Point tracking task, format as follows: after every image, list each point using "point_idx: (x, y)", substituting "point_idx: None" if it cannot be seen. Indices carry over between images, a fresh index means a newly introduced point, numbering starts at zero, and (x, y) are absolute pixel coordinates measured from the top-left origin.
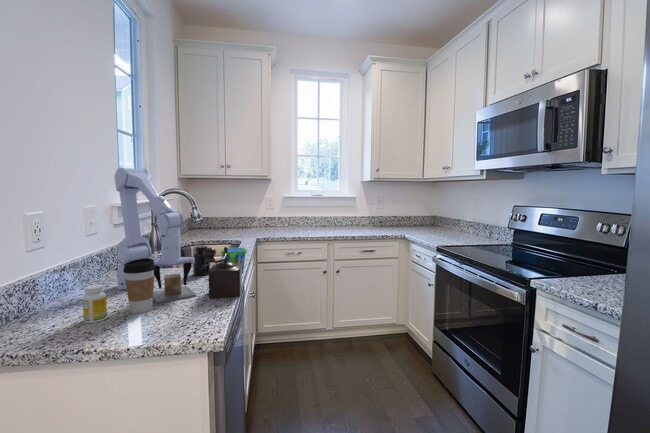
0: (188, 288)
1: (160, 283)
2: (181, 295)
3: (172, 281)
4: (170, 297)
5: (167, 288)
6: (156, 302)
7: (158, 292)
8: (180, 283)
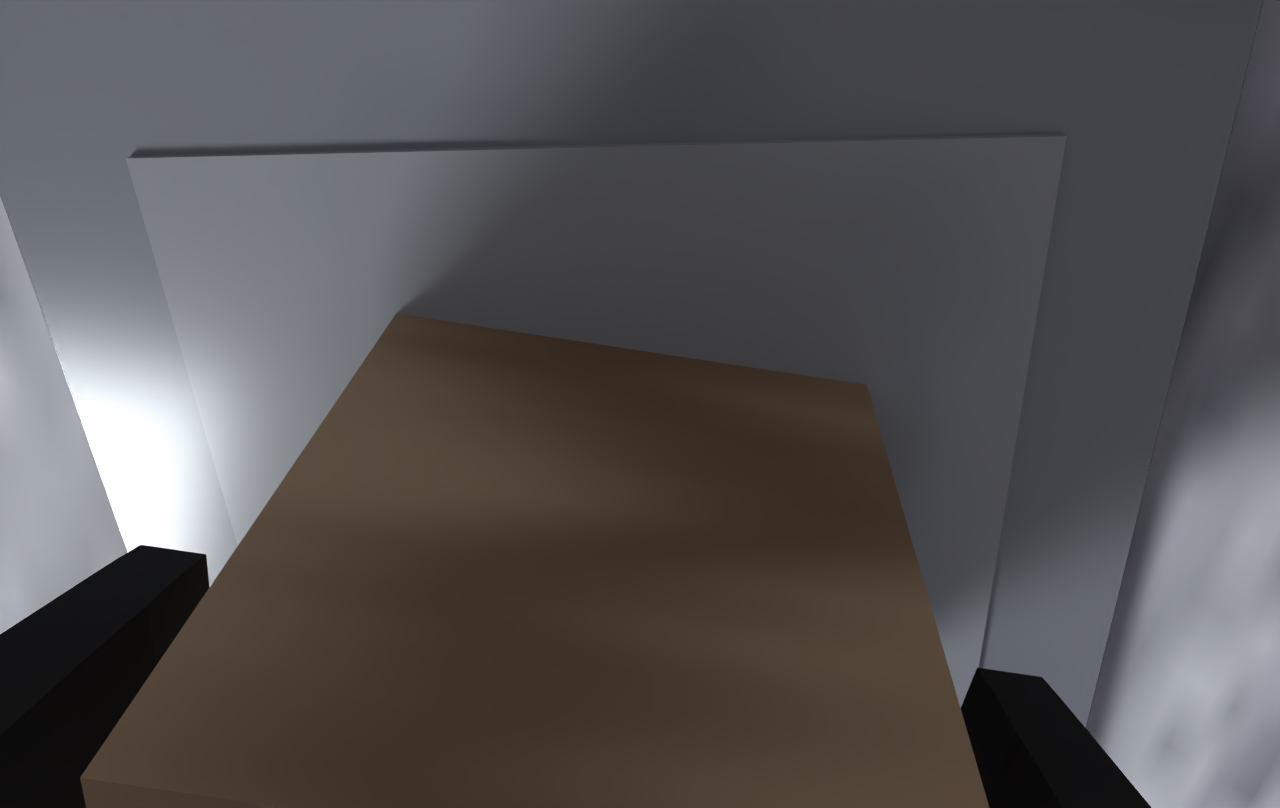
0: None
1: (1075, 801)
2: (401, 162)
3: (591, 673)
4: (755, 161)
5: (809, 512)
6: (1233, 37)
7: None
8: (271, 520)
